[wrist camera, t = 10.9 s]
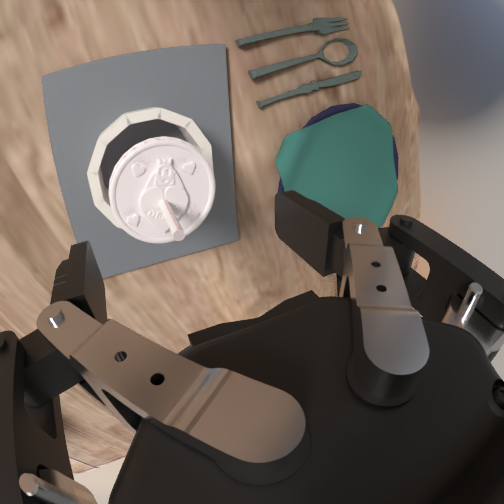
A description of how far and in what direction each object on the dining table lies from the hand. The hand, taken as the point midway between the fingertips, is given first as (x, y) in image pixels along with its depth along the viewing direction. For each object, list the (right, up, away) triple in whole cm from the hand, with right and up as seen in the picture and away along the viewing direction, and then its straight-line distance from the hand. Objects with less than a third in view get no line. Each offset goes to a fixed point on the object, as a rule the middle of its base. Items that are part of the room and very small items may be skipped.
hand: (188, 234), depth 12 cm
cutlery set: (+12, +12, +21) cm, 27 cm away
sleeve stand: (-7, +7, +12) cm, 16 cm away
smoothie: (-6, +7, +12) cm, 15 cm away
